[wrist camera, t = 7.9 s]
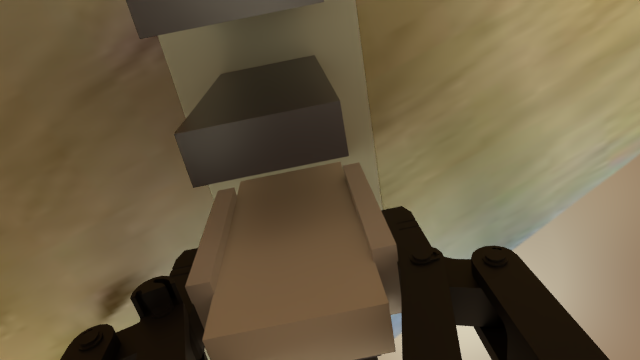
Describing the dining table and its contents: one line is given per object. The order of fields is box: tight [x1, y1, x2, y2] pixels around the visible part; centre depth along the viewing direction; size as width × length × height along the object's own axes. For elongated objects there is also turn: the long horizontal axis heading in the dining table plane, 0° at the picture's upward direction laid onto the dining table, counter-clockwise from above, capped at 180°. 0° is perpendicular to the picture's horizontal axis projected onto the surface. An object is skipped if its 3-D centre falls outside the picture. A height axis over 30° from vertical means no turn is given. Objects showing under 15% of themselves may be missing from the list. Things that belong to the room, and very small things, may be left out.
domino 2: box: [174, 55, 349, 188], centre depth 17 cm, size 2×5×10 cm, turn 100°
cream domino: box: [202, 162, 395, 360], centre depth 15 cm, size 2×5×10 cm, turn 101°
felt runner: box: [158, 0, 383, 210], centre depth 23 cm, size 23×10×1 cm, turn 10°
